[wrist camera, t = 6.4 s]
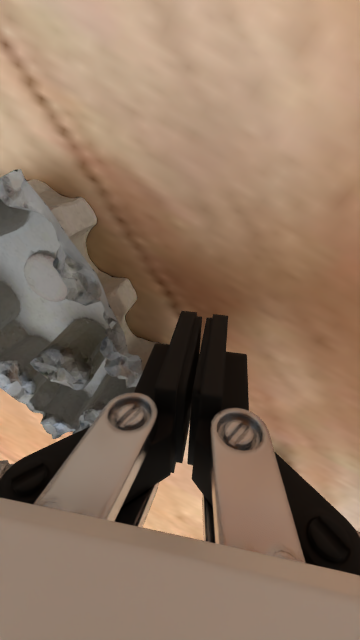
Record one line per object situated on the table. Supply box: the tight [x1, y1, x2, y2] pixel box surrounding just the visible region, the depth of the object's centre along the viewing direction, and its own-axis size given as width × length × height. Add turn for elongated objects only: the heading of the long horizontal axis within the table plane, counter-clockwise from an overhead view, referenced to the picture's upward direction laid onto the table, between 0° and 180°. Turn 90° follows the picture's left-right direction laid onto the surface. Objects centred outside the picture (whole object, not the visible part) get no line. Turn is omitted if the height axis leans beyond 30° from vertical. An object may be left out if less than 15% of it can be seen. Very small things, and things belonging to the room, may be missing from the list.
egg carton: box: [0, 169, 159, 439], centre depth 12 cm, size 11×8×4 cm
